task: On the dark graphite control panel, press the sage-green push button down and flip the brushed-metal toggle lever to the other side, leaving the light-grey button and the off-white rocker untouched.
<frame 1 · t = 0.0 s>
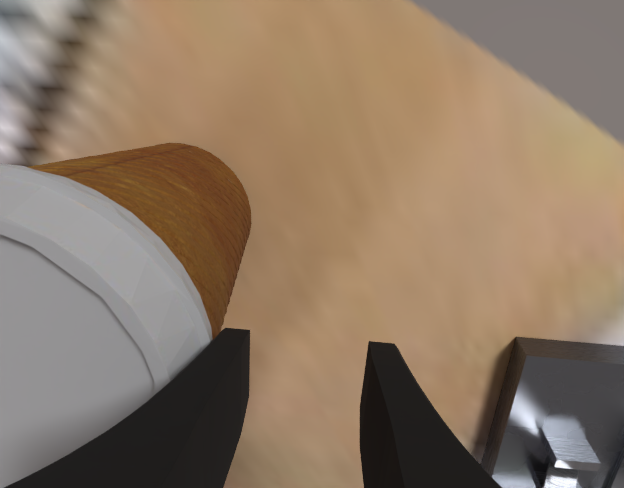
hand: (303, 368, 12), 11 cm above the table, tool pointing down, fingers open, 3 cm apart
panel: (588, 482, 27), on the table
disposable coffee cup: (184, 211, 22), on the table, touching gripper
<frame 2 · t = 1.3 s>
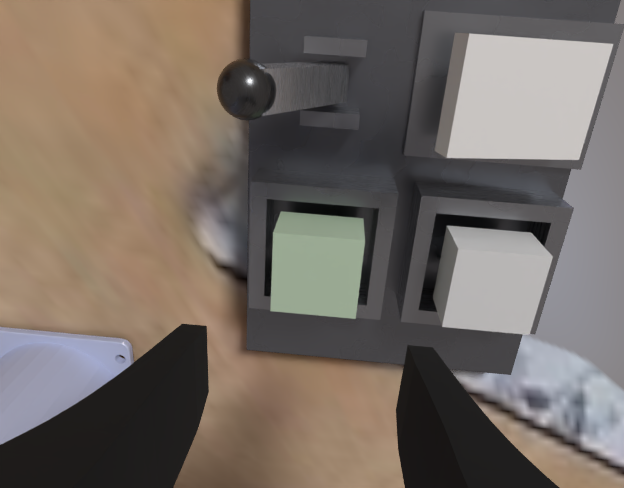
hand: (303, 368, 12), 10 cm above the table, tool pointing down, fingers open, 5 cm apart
button aux: (487, 279, 17), point 4 cm above the table, slide at 0.0 cm
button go: (317, 264, 17), point 4 cm above the table, slide at 0.0 cm
panel: (402, 159, 20), on the table
toggle lever: (287, 86, 15), point 4 cm above the table, hinge at -30.0°
rocker: (520, 99, 15), point 3 cm above the table, hinge at 15.0°
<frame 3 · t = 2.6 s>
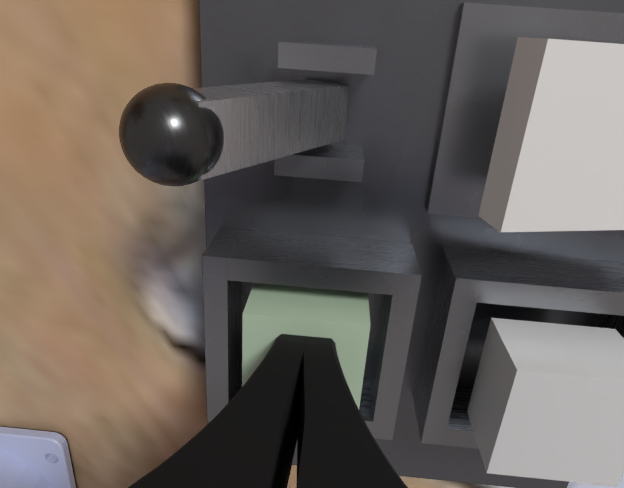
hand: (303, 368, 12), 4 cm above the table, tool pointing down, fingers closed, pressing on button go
button aux: (552, 399, 12), point 4 cm above the table, slide at 0.0 cm
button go: (305, 346, 13), point 3 cm above the table, slide at 1.2 cm, touching gripper
panel: (421, 211, 14), on the table
toggle lever: (249, 122, 9), point 4 cm above the table, hinge at -30.0°
rocker: (614, 140, 10), point 3 cm above the table, hinge at 15.0°
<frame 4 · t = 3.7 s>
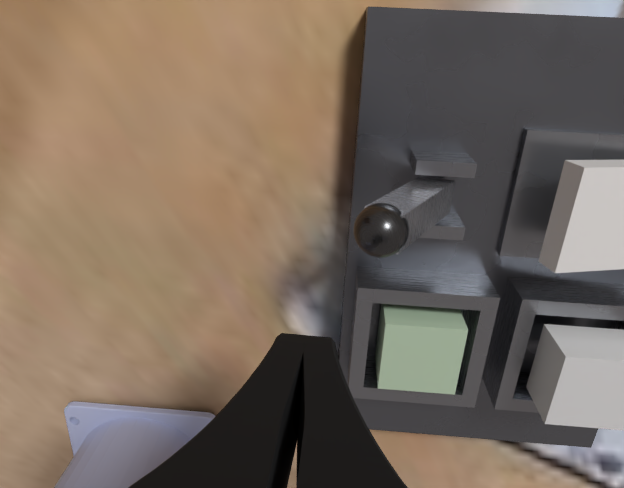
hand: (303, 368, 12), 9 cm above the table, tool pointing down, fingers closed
button aux: (585, 376, 18), point 4 cm above the table, slide at 0.0 cm
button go: (417, 344, 19), point 3 cm above the table, slide at 1.2 cm
panel: (489, 250, 20), on the table
toggle lever: (406, 213, 15), point 4 cm above the table, hinge at -30.0°
rocker: (622, 215, 16), point 3 cm above the table, hinge at 15.0°
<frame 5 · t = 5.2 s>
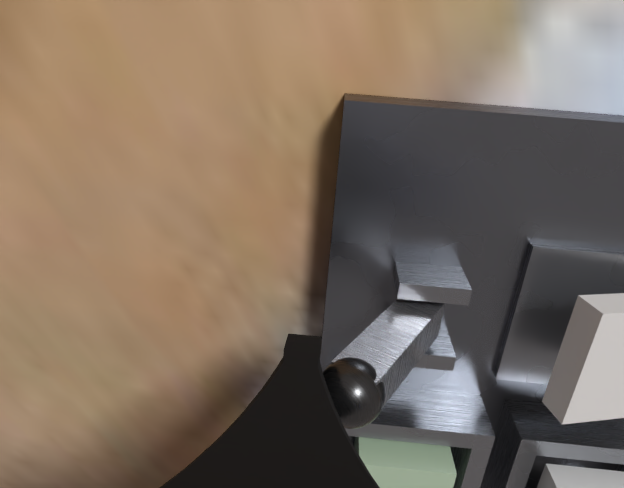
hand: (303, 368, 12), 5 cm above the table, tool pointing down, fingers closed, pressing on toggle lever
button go: (398, 476, 16), point 3 cm above the table, slide at 1.2 cm
panel: (483, 360, 18), on the table
toggle lever: (385, 354, 13), point 4 cm above the table, hinge at -29.8°, touching gripper
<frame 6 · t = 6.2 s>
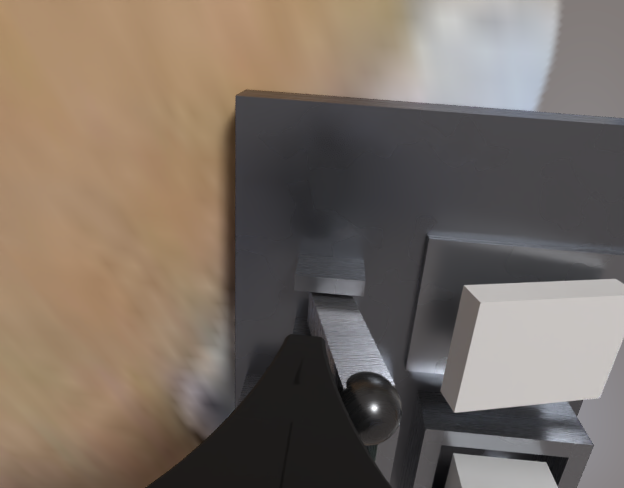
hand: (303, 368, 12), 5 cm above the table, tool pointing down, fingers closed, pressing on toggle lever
panel: (403, 353, 18), on the table
toggle lever: (347, 357, 13), point 5 cm above the table, hinge at 13.5°, touching gripper
rocker: (535, 345, 14), point 3 cm above the table, hinge at 15.0°
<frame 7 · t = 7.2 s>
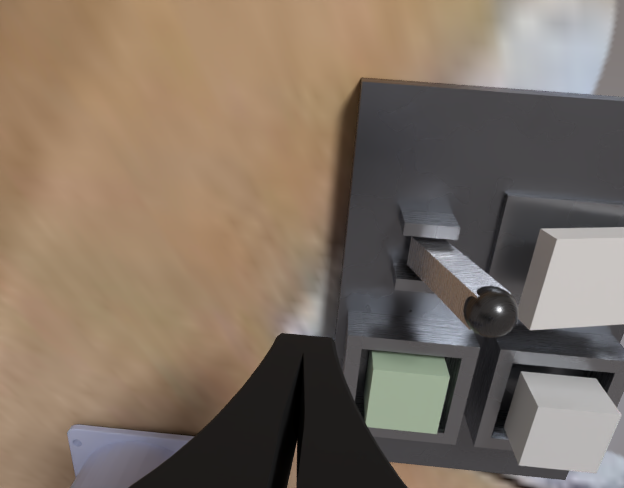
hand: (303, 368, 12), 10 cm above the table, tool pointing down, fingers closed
button aux: (557, 421, 19), point 4 cm above the table, slide at 0.0 cm
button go: (403, 386, 20), point 3 cm above the table, slide at 1.2 cm
panel: (472, 296, 22), on the table
toggle lever: (458, 282, 17), point 5 cm above the table, hinge at 19.2°
rocker: (593, 278, 18), point 3 cm above the table, hinge at 15.0°
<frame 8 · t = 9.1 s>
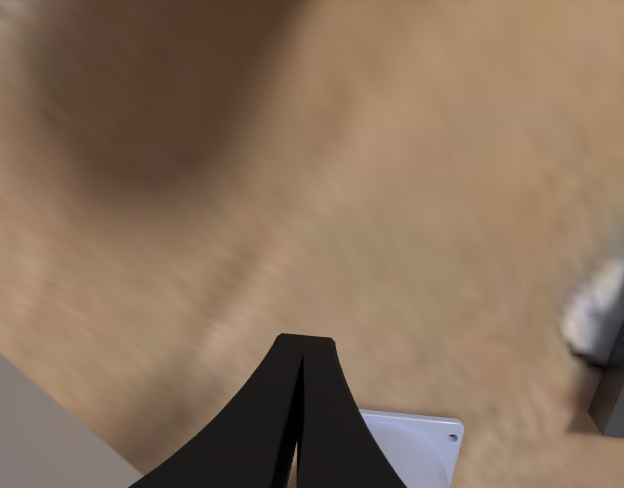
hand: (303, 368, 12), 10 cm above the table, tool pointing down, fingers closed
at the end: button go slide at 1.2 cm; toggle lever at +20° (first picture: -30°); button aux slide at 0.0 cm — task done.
